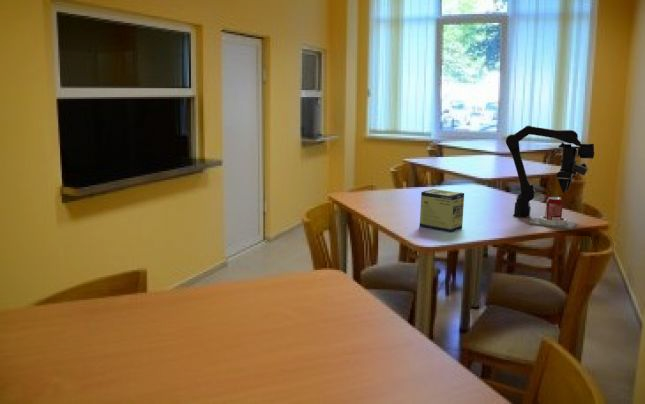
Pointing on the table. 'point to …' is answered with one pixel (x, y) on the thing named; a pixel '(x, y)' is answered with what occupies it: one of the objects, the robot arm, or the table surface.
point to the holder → (553, 223)
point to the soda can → (554, 208)
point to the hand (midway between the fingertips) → (565, 191)
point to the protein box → (441, 210)
